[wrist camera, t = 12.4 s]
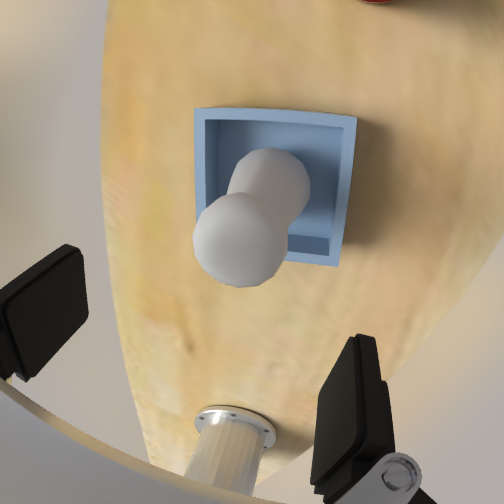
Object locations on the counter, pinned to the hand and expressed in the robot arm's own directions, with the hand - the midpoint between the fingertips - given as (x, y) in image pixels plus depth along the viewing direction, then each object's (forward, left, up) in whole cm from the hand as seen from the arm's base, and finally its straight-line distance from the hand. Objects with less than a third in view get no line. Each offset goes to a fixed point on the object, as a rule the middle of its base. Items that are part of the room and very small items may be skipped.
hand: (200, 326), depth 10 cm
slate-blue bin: (+1, 0, -18) cm, 18 cm away
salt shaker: (+1, 0, -17) cm, 17 cm away
